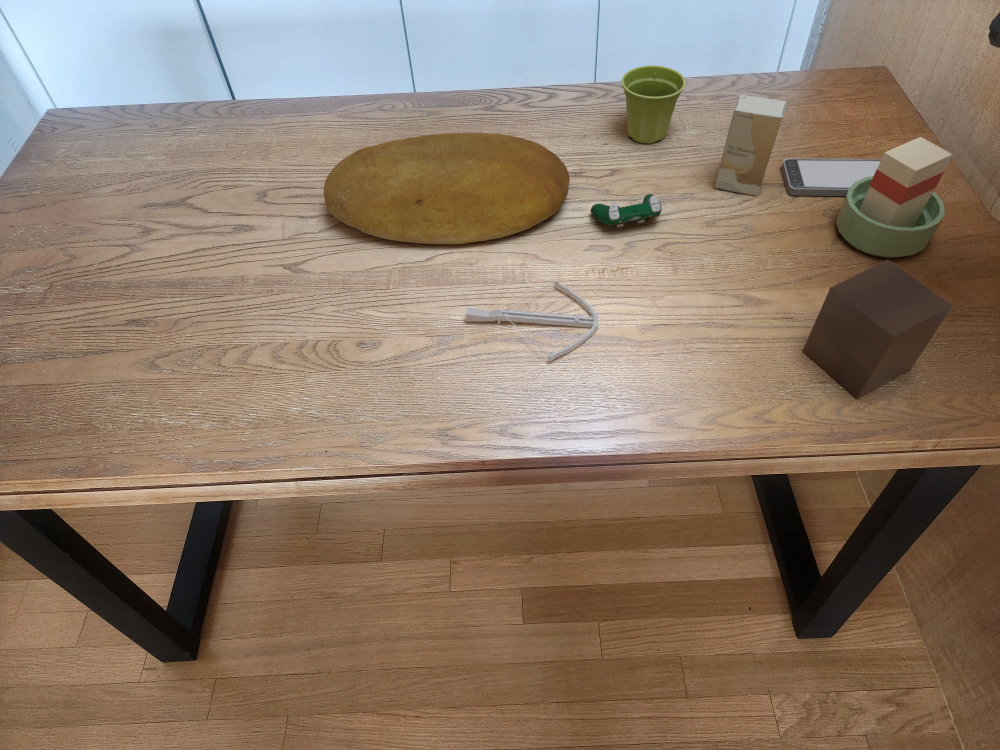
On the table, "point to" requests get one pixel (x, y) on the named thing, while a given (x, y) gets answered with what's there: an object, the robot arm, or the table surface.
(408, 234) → the bread
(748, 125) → the cosmetic box
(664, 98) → the plant pot
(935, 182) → the snack carton
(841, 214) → the bowl
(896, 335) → the block
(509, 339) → the table surface
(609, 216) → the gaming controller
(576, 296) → the crossbow
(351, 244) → the table surface
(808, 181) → the smartphone
